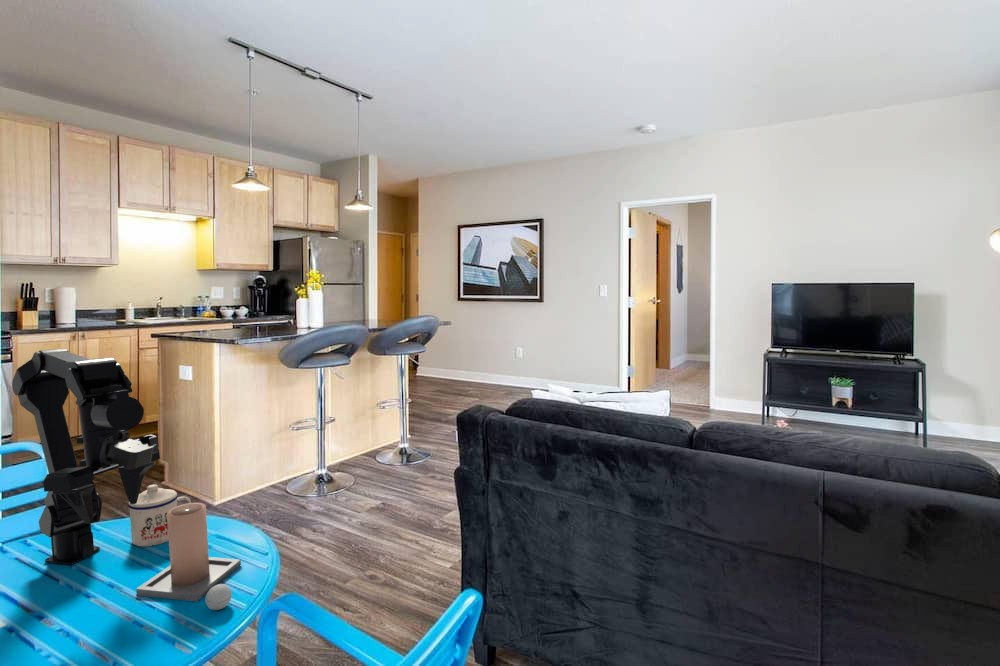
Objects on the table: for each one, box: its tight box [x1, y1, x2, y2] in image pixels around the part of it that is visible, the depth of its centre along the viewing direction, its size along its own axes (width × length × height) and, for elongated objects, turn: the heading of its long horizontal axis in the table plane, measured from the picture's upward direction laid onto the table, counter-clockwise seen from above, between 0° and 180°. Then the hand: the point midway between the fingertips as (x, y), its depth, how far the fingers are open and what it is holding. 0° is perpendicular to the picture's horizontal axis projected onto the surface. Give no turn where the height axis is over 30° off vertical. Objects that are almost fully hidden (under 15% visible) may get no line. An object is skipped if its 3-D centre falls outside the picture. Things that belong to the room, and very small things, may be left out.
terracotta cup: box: [167, 502, 210, 586], centre depth 100 cm, size 6×6×13 cm
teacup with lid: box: [127, 483, 192, 547], centre depth 117 cm, size 12×9×12 cm
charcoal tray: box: [135, 556, 242, 602], centre depth 100 cm, size 12×12×1 cm
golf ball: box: [204, 583, 233, 611], centre depth 91 cm, size 4×4×4 cm
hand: (112, 513), depth 98 cm, fingers open, 9 cm apart
